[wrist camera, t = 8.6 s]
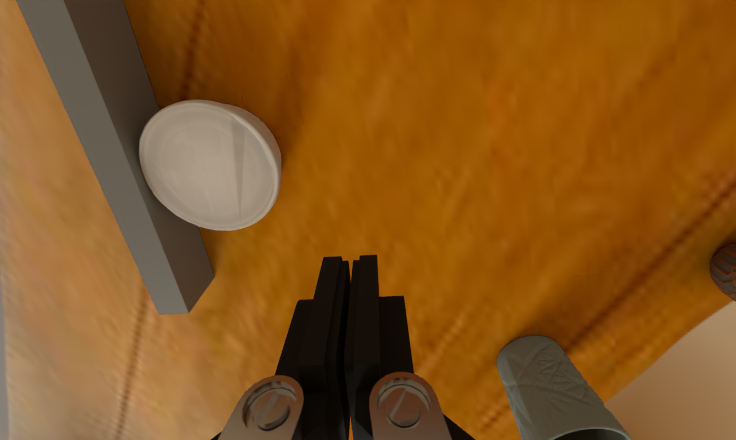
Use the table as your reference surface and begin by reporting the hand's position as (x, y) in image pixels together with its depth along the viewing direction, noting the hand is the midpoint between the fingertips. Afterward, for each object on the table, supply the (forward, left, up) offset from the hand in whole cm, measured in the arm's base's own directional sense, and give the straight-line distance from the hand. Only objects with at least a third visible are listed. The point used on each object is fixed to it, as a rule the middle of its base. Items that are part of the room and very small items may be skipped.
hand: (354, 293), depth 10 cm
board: (+1, -20, -22) cm, 30 cm away
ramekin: (+1, -13, -23) cm, 26 cm away
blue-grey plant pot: (+31, +20, -23) cm, 43 cm away
